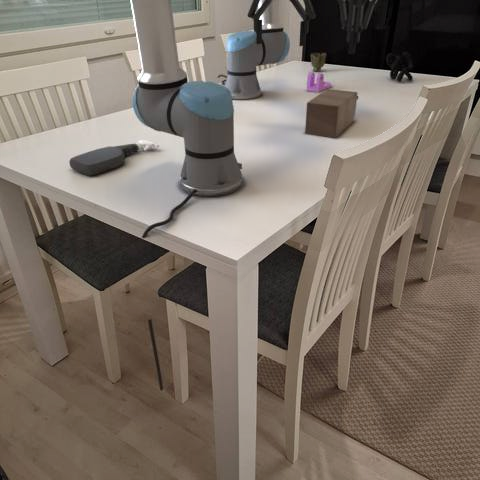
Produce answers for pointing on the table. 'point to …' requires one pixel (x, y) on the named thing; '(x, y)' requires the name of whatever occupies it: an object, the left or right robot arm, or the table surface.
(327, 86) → the bracket
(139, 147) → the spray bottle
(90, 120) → the table surface
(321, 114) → the brown rectangular box
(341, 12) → the right robot arm
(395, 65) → the squiggle
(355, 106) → the drawer
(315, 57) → the olive tapered piece
